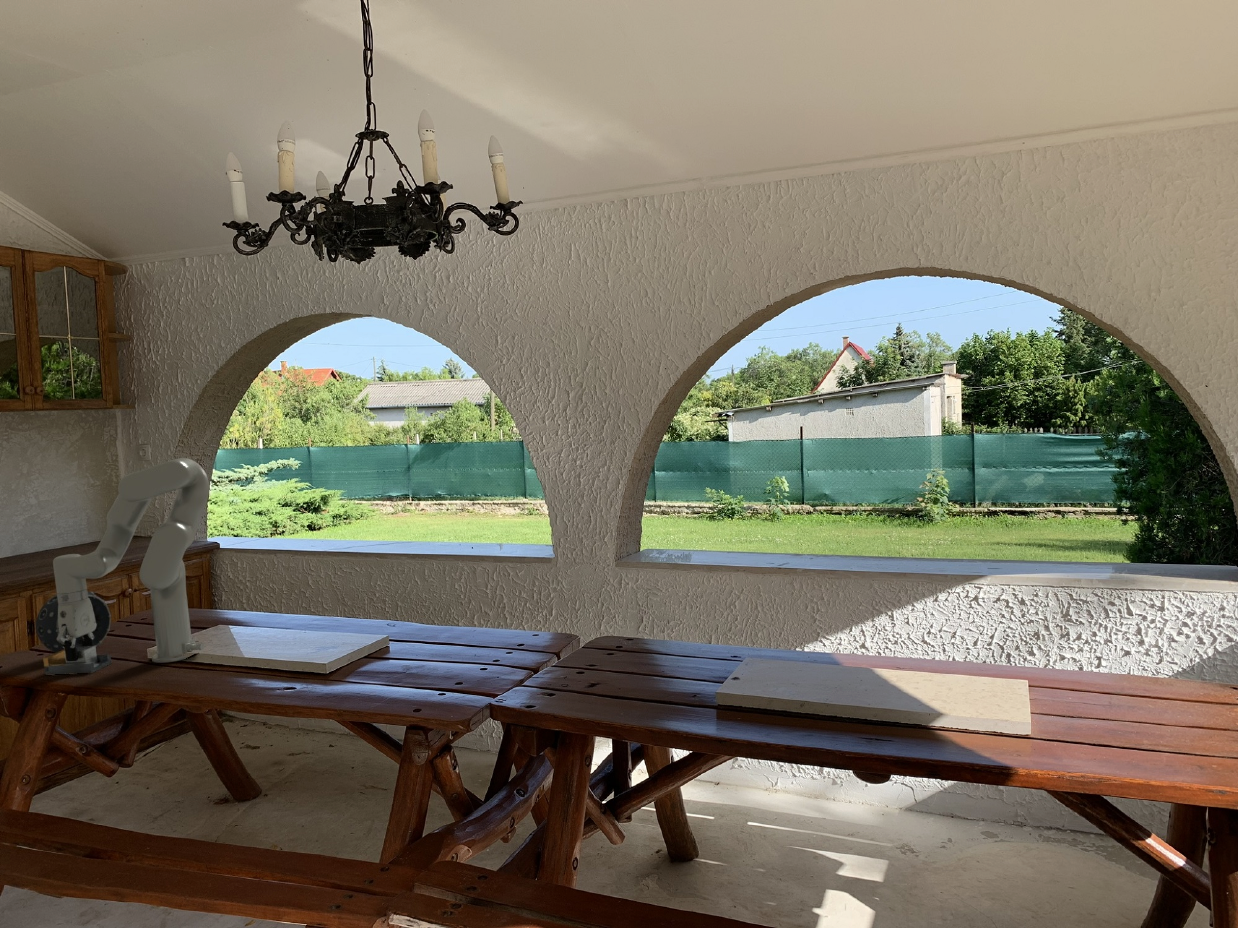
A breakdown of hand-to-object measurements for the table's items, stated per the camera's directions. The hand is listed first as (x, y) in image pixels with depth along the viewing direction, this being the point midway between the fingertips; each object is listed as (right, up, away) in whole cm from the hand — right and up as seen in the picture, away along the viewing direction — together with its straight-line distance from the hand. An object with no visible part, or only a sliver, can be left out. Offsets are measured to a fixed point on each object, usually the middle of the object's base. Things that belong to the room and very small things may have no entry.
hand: (80, 656), depth 262 cm
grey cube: (0, -3, 0) cm, 3 cm away
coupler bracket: (-1, -4, 0) cm, 4 cm away
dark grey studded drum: (-12, -3, +19) cm, 23 cm away
